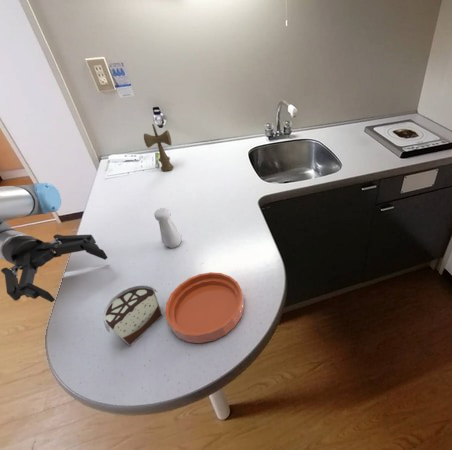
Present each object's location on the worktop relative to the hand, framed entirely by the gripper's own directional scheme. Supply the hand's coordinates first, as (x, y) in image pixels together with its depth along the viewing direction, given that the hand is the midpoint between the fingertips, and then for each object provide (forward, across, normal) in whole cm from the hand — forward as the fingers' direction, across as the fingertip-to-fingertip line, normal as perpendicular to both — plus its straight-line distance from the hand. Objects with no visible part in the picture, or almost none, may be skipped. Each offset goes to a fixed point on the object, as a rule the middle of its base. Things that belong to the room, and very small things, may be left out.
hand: (79, 274), depth 70 cm
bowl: (+25, -10, -13) cm, 30 cm away
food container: (+12, 0, -13) cm, 18 cm away
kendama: (-35, -62, -13) cm, 72 cm away
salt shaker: (0, -26, -13) cm, 29 cm away
